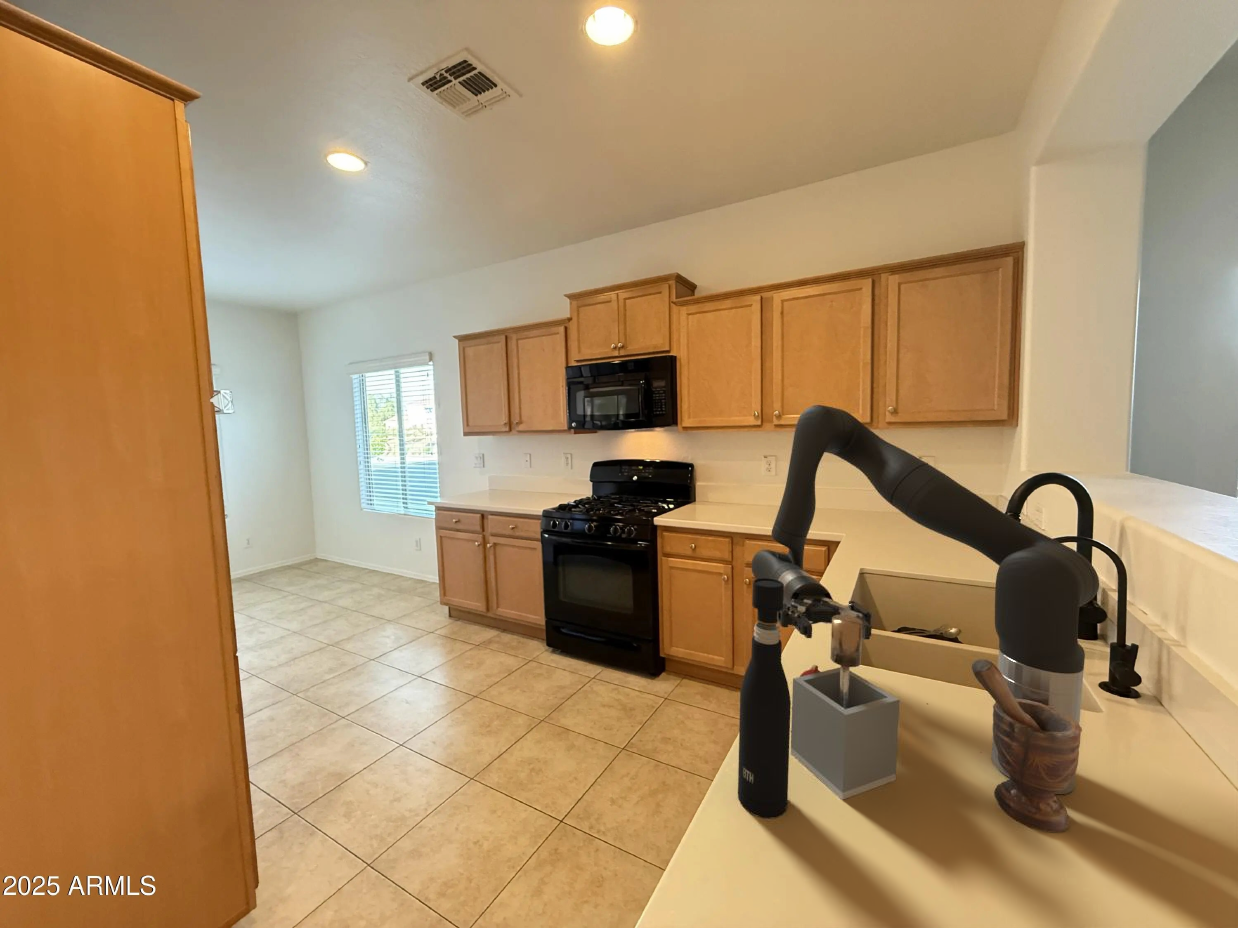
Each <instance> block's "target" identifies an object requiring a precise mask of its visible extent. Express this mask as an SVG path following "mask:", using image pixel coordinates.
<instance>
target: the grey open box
mask: <svg viewBox="0 0 1238 928" xmlns="http://www.w3.org/2000/svg"><path fill="white" fill-rule="evenodd" d="M840 669H841V666H840V667H836V668H832V669H828V670H823V671H820V672H818V673H814V674H810V675H806V676H801V677H800V676H797V677H794V678H792V695H791V696H792V700H791V724H790V727H791V728H790V730H791V731H790V754H791V755H792V756H793V758H795V759H796V760H798V761H799V763H801V764H802V765H803V766H804V767H805V768H806V769H807V770H808V771H809V772H810V773H812V775H814V776H815V777H816V778H818V780H819V781H820V782H822V783H823V784H824V785H825V786H826V787H827V789H829V790H830V791H832V792H833V793H834V794H835V795H836V796H837V797H838V798H839V799H840V800H845V799H849V798H852V797H854V796H856V795H860V794H863V793H865V792H868V791H871V790H872V789H877V788H878V787H882V786H884V785H887V784H888V783H889V784H890V783H892V782H894V781H896V776H897V758H898V737H899V721H900V720H899V719H900V717H899V716H900V703H901V702H900V698H898V697H896V696H894V695H893V694H891V693H889V692H888V691H886V690H884V689H882V688H880V687H879V686H877V685H875V684H874V683H872V682H870V681H869V680H867V679H865V678H863V677H862V676H860V675H858V674H856V673H855V672H853V671H851V670H850V672H849V696H848V709H844V708H843V707H841V706H840V705H839V694H840Z"/></svg>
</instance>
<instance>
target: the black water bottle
mask: <svg viewBox="0 0 1238 928" xmlns="http://www.w3.org/2000/svg"><path fill="white" fill-rule="evenodd" d="M783 599H784V584H783V583H782V582H781V581H779V580H775V579H770V578H759V579H756V578H754V580H753V581H752V599H751V600H752V603H751V604H752V607H753V608H754V609H756V610H757V613H756V614H757V616H756V623H755V624H754V627H753V631H754V632H753V636H752V638H751V653H750V654H751V657H750V660H749V663H748V665H747V668H746V670H745V672H744V675H743V680H742V683H741V686H740V687H741V688H740V693H739V724H738V725H739V726H738V727H739V728H738V729H739V730H738V731H739V734H738V736H739V737H738V770H737V771H738V772H737V774H738V775H737V776H738V777H737V797H738V801H739V802H740V804H741V806H742V807H743V808H744V809H745V810H746V811H747V812H749V813H751V814H753V816H754V815H755V816H757V817H760V818H764V819H774V818H778V817H780V816H783V814H785V812H786V811H787V808H788V801H789V800H788V799H789V798H788V797H789V794H788V793H789V770H790V768H789V765H790V741H791V731H790V730H791V728H790V727H791V710H792V700H791V695H790V688H789V683H788V679H787V677H786V673H785V670H784V667H783V663H782V648H783V647H782V646H783V645H782V640H781V639H780V638H781V635H780V633H781V630H780V626H779V625H778V624H779V622H778V620H777V614H778V611H781V610H783Z"/></svg>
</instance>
